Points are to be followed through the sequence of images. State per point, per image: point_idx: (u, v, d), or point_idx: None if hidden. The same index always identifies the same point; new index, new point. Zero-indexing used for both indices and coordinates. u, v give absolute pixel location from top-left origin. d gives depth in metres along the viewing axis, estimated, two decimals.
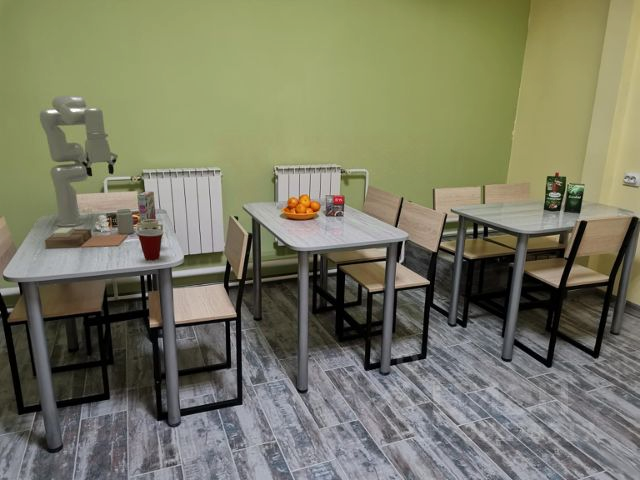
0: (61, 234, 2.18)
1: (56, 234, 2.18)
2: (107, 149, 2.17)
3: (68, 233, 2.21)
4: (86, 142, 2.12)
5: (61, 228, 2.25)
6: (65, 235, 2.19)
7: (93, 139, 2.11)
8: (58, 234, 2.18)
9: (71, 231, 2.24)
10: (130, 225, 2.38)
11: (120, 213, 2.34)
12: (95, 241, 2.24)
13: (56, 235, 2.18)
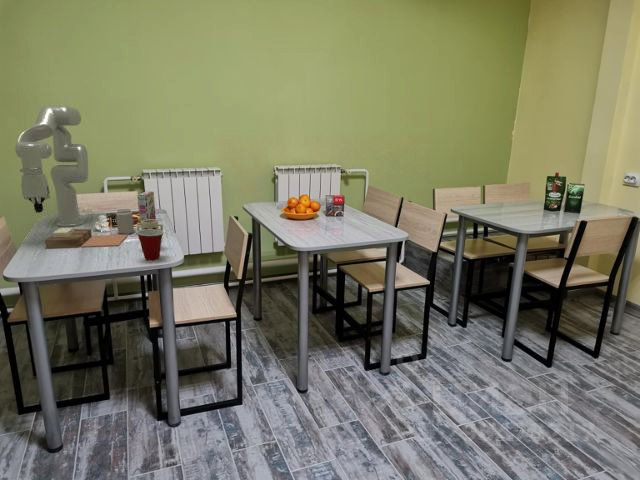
0: (61, 234, 2.18)
1: (56, 234, 2.18)
2: None
3: (68, 233, 2.21)
4: (44, 176, 2.15)
5: (61, 228, 2.25)
6: (65, 235, 2.19)
7: None
8: (58, 234, 2.18)
9: (71, 231, 2.24)
10: (130, 225, 2.38)
11: (120, 213, 2.34)
12: (95, 241, 2.24)
13: (56, 235, 2.18)
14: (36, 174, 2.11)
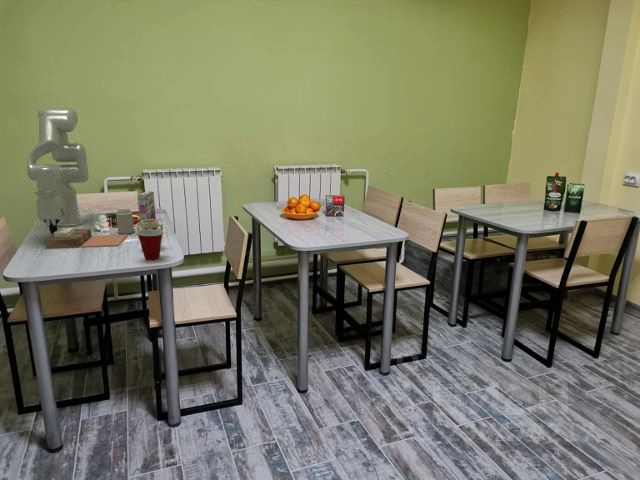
0: (62, 234, 2.18)
1: (57, 234, 2.18)
2: None
3: (69, 233, 2.21)
4: (59, 198, 2.18)
5: (62, 228, 2.25)
6: (66, 235, 2.19)
7: None
8: (59, 234, 2.18)
9: (72, 231, 2.24)
10: (130, 225, 2.38)
11: (120, 213, 2.34)
12: (95, 241, 2.24)
13: (57, 235, 2.18)
14: (51, 197, 2.15)
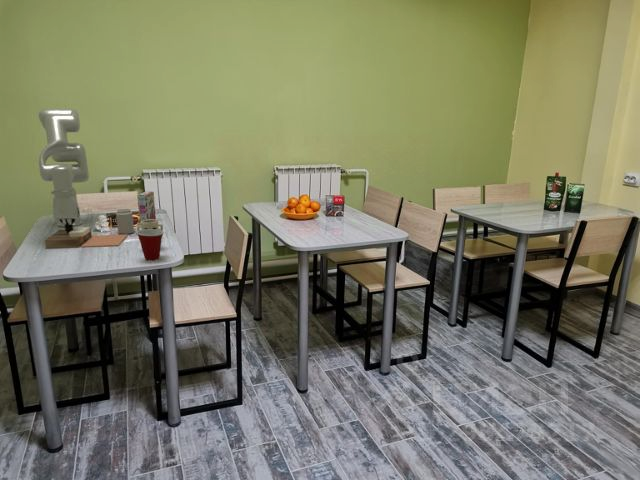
0: (77, 234, 2.19)
1: (72, 234, 2.18)
2: None
3: (84, 233, 2.21)
4: (75, 198, 2.19)
5: (77, 228, 2.26)
6: (81, 235, 2.19)
7: None
8: (74, 234, 2.19)
9: (87, 231, 2.24)
10: (130, 225, 2.38)
11: (120, 213, 2.34)
12: (95, 241, 2.24)
13: (72, 235, 2.19)
14: (67, 196, 2.15)
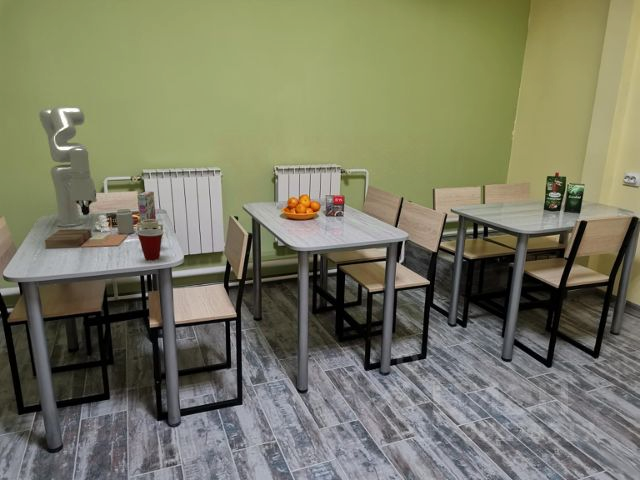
0: (94, 241, 2.21)
1: (99, 241, 2.21)
2: None
3: None
4: (92, 180, 2.18)
5: None
6: (90, 240, 2.20)
7: None
8: (97, 241, 2.21)
9: None
10: (130, 225, 2.38)
11: (120, 213, 2.34)
12: None
13: (99, 240, 2.21)
14: (84, 178, 2.15)
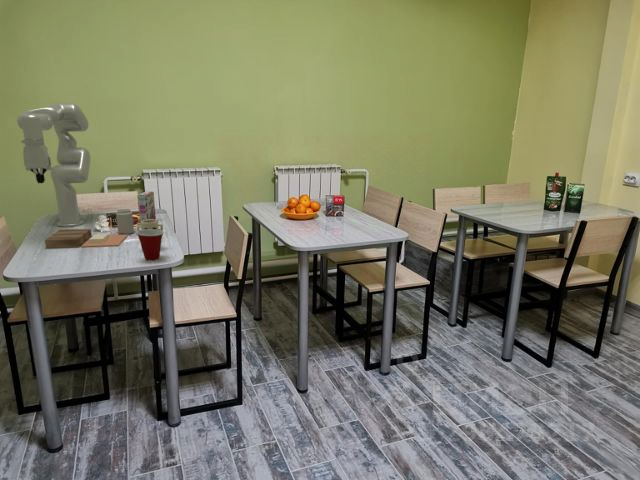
0: (94, 241, 2.21)
1: (99, 241, 2.21)
2: None
3: None
4: (46, 147, 2.19)
5: None
6: (90, 240, 2.20)
7: None
8: (97, 241, 2.21)
9: None
10: (130, 225, 2.38)
11: (120, 213, 2.34)
12: None
13: (99, 240, 2.21)
14: (37, 145, 2.15)
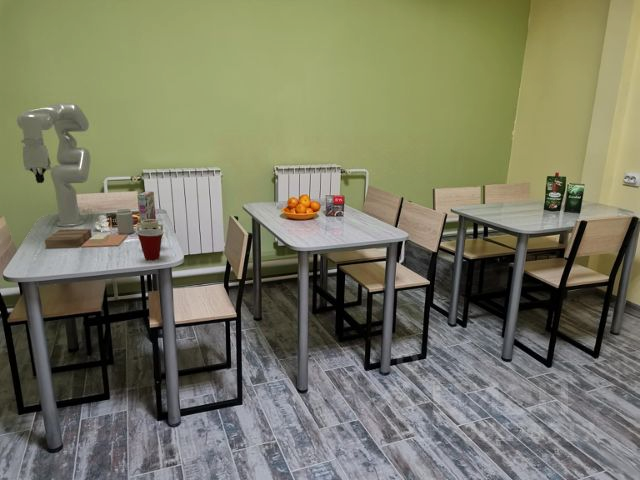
0: (94, 241, 2.21)
1: (99, 241, 2.21)
2: None
3: None
4: (45, 147, 2.19)
5: None
6: (90, 240, 2.20)
7: None
8: (97, 241, 2.21)
9: None
10: (130, 225, 2.38)
11: (120, 213, 2.34)
12: None
13: (99, 240, 2.21)
14: (37, 145, 2.15)
